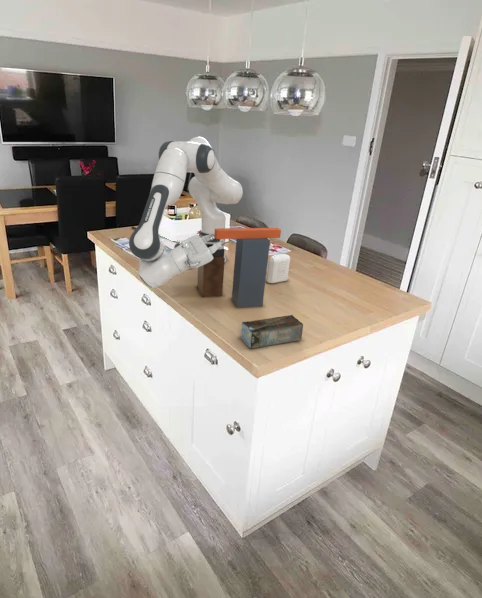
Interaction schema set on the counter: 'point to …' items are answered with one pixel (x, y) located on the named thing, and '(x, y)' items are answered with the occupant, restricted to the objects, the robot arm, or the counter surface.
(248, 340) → the beverage carton
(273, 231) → the orange bar
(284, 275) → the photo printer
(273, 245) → the counter surface
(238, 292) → the stand
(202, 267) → the wood grain post
